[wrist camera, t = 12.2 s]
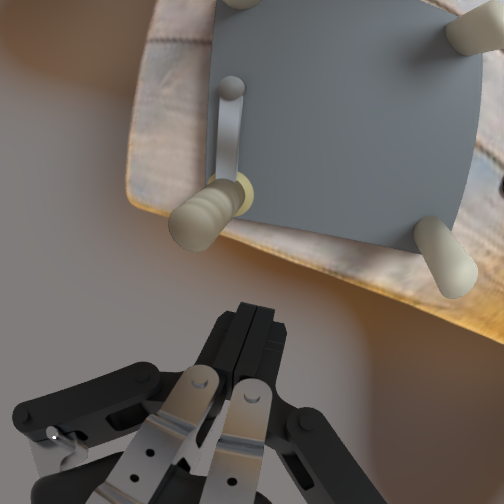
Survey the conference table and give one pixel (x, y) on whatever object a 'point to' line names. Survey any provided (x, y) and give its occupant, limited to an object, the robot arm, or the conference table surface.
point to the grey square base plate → (357, 118)
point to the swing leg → (225, 184)
